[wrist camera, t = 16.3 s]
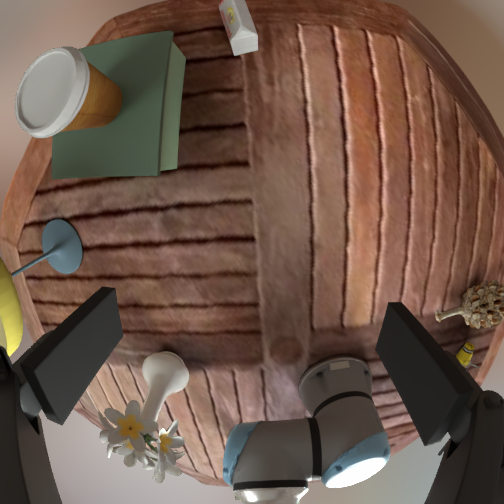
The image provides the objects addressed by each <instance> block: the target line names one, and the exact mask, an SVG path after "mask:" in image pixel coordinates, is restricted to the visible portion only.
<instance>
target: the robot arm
mask: <svg viewBox="0 0 504 504" xmlns="http://www.w3.org/2000/svg"><path fill="white" fill-rule="evenodd" d="M122 337H123V331H122V326H121V321H120V315H119V310H118V304H117V297H116V291H115V288H110V287H101V288H100V289H99V290H98V291H97V292H95V293H94V294H93V295H92V296H91V297H90V298H89V299H87V300H86V301H85V302H84V303H83V304H82V305H81V306H80V307H79V308H77V309H76V310H75V311H74V312H73V313H72V314H71V315H70V316H69V317H68V318H66V319H65V320H64V321H63V322H62V323H61V324H60V325H59V326H58V327H57V328H56V329H55V330H52V331H50V332H48V333H46V334H44V335H43V336H41V337H40V338H39V339H38V340H37V341H36V343H34V344H33V345H32V346H31V348H29V349H28V350H27V351H26V352H25V353H24V354H23V355H22V356H21V357H20V358H19V359H18V360H17V361H16V362H15V363H14V364H13V365H12V363H11V360H10V358H9V356H8V353H7V351H6V349H5V348H4V347H3V346H0V504H62V501H61V498H60V495H59V493H58V489H57V486H56V483H55V480H54V477H53V473H52V469H51V465H50V462H49V457H48V453H47V449H46V444H45V439H44V434H43V429H42V423H41V419H40V417H39V415H38V413H39V412H40V410H41V409H42V410H43V412H44V413H45V415H46V417H47V419H49V420H51V421H53V422H55V423H58V424H60V425H63V424H64V422H65V420H66V419H67V417H68V416H69V414H70V412H71V411H72V410H73V408H74V406H75V405H76V403H77V402H78V400H79V399H80V397H81V396H82V394H83V393H84V391H85V390H86V388H87V387H88V385H89V384H90V382H91V381H92V380H93V378H94V377H95V375H96V374H97V372H98V371H99V369H100V368H101V366H102V365H103V364H104V362H105V361H106V359H107V358H108V356H109V355H110V354H111V352H112V351H113V349H114V348H115V347H116V345H117V344H118V343H119V341H120V340H121V338H122ZM375 350H376V351H377V353H378V355H379V357H380V359H381V361H382V362H383V364H384V366H385V368H386V370H387V372H388V374H389V375H390V377H391V379H392V381H393V383H394V385H395V387H396V389H397V391H398V393H399V395H400V397H401V399H402V400H403V402H404V404H405V406H406V408H407V410H408V412H409V414H410V417H411V419H412V421H413V423H414V425H415V427H416V429H417V431H418V433H419V435H420V437H421V439H422V442H423V443H424V446H428V445H431V444H434V443H437V442H440V441H441V440H442V438H443V437H444V436H445V434H446V433H447V432H448V433H449V435H450V436H451V438H450V439H449V441H448V442H447V443H446V444H445V446H444V447H443V448H442V449H441V451H440V452H439V454H438V455H441V454H442V452H443V451H444V454H443V457H442V460H441V463H440V466H439V469H438V472H437V474H436V477H435V479H434V482H433V485H432V487H431V489H430V492H429V494H428V497H427V499H426V501H425V503H424V504H504V399H503V398H502V396H500V395H499V394H498V393H496V392H494V391H490V390H487V391H483V390H482V389H481V388H480V386H479V385H478V384H477V383H476V381H475V380H474V379H473V377H472V376H471V375H470V374H469V372H468V371H467V372H466V369H465V368H464V366H463V365H461V363H460V361H459V360H458V359H457V358H456V357H455V356H454V355H452V354H451V353H449V352H448V351H444V350H443V349H442V348H441V347H440V346H439V344H438V343H437V342H436V341H435V340H434V338H433V337H432V336H431V335H430V334H429V333H428V331H427V330H426V329H425V328H424V327H423V326H422V325H421V323H420V322H419V321H418V320H417V319H416V318H415V317H414V316H413V314H412V313H411V312H410V311H409V310H408V309H407V308H406V307H405V306H404V304H403V303H402V302H388V306H387V310H386V314H385V317H384V321H383V325H382V328H381V332H380V335H379V339H378V342H377V345H376V348H375ZM299 394H300V398H301V400H302V402H303V404H304V405H305V407H306V408H307V410H308V411H309V412H310V414H311V415H312V417H313V418H304V419H294V420H282V421H257V422H249V423H240V424H237V425H236V426H235V427H234V428H233V429H232V430H231V432H230V434H229V437H228V440H227V443H226V447H225V452H224V459H223V466H224V468H223V478H224V481H225V482H226V483H227V484H230V485H233V494H235V495H236V496H237V497H238V498H239V499H240V500H241V501H242V503H243V504H299V500H300V498H301V497H302V496H303V495H304V494H305V493H306V492H307V491H308V481H310V480H318V479H321V481H322V483H323V484H324V485H325V486H327V487H329V488H332V487H334V488H340V487H345V486H349V485H352V484H355V483H358V482H360V481H362V480H364V479H366V478H368V477H370V476H372V475H373V474H375V473H376V472H377V471H379V470H380V469H381V468H382V467H383V466H384V465H385V464H386V463H387V461H388V459H389V457H390V453H391V451H390V446H389V443H388V435H387V433H386V432H385V430H384V427H383V425H382V422H381V420H380V417H379V415H378V412H377V410H376V407H375V405H374V402H373V400H372V374H371V371H370V369H369V366H368V364H367V363H366V362H365V361H364V360H363V359H361V358H360V357H357V356H354V355H346V354H343V355H335V356H331V357H327V358H325V359H322V360H320V361H318V362H317V363H315V364H313V365H312V366H311V367H309V368H308V369H307V370H306V371H305V373H304V374H303V375H302V377H301V379H300V382H299Z"/></svg>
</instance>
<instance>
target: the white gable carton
mask: <svg viewBox="0 0 504 504" xmlns="http://www.w3.org/2000/svg"><path fill="white" fill-rule="evenodd" d="M219 9H220V13H221V16H222V20H223V23H224V26H225V29H226V32H227V35H228V38H229V41H230V44H231V48H232V51H233V54H234V56H236V55H240V54H244V53H248V52H253V51H257V50H258V35H257V32H256V29H255V26H254V24H253V21H252V18H251V15H250V13H249V10H248V8H247V5H246V2H245V0H222V1H221V3H220V4H219Z"/></svg>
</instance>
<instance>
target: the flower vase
mask: <svg viewBox="0 0 504 504" xmlns="http://www.w3.org/2000/svg"><path fill="white" fill-rule="evenodd" d="M142 373H143V377H144V379H145V381H146V383H147V384H148V392H147V396H146V399H145V402H144V404H143V407H142V410H141V412H140V406H139V403H138V402H137V401H135V400H132V401H130V402H129V404H128V405H127V407H126V411H125V416H124V415H123V414H122V413H120V412H119V411H117V410H115V409H112V408H107V409H105V411H104V413H105V416H106V417H107V419H108V420H109V421H110V422H112V423H113V424H114V425H116V426H118V427H117V428H114V427H113V426H112V425H111V424H110V423H109V422H108V421H107V419H106V418H105V417H103V415H102V414H101V413H100V412H98V414H99V418H100V421H101V423H102V425H103V426H104V427H105V428H106V429H108V430H102V431H101V432H100V440H101V442H103V443H107V442H109V444H108V446H107V454H108V458H109V457H110V455H111V451H112V452H114V453H118V454H120V455H125V457H124V463H125V465H126V466H128V467H133V466H134V465H135V464H136V463H137V460H139V461H140V462H142V463H143V468H144V469H146V470H153V469H154V476H153V478H154V477H155V480H156V482H157V483H162V482H163V480H164V478H165V471H166V472H167V473H169V474H172V475H175V476H179V475H181V474H182V471H181V469H180V468H179V467H177V466H176V465H175V464H176V460H177V459H179V458H181V457H182V456H184V454H182V453H183V452H185V451H183V452H178V451H176V450H172V449H171V448H180V447H181V446H183V444H184V441H185V440H184V438H182V437H180V436H171V435H174V434H175V432H176V430H177V427H178V420H175V421H174V422H173V423H172V424H171V425H170V426H169V428H168V429H167V430H166V431H165V429H160V431H159V437H158V439H156V436H155V431H156V430H157V429H158V427H159V426H158V424H157V423H156V421H157V418H158V415H159V413H160V410H161V408H162V406H163V403H164V401H165V400H166V398H167V397H168V396H169V395H170V394H174V393H178V392H179V391H181V390H183V389H184V388H185V386H186V385H187V384H188V381H189V371H188V369H187V367H186V365H185V364H184V362H183V360H182V359H181V358H180V357H179V356H178V355H176V354H175V353H172V352H168V351H162V352H160V353H154V354H152V355H149V356H148V357H147V358H146V359H145V361H144V362H143V367H142ZM127 438H128V439H127ZM154 441H155V442H157V445H158V447H155V448H154V447H153V446H152V445H151V444H150V443H152V442H154ZM145 443H147V444H148V445H149V446H150V447H151V448H152V449H153V450H152V452H151V451H150V450H149V449H147V448H146V444H145ZM114 444H121V445H122V444H123V445H122V446H117V447H113V446H114ZM169 447H170V448H169ZM147 455H148V456H150V458H152V460H151V459H150V458H149V457H148V456H147Z"/></svg>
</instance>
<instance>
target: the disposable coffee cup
mask: <svg viewBox="0 0 504 504" xmlns="http://www.w3.org/2000/svg"><path fill="white" fill-rule="evenodd" d="M121 106H122V92H121V89H120V88H119V86H118V85H117V84H116V83H114V82H113V81H112V80H110V79H109V78H108V77H107V76H105V75H104V74H103V73H102V72H100V71H99V70H98V69H97V68H95V67H94V66H93V65H91V64H90V63H89V62H88V61H86V58H85V57H84V55H83V53H82V52H80V51H79V50H78V49H76V48H73V47H61V48H53V49H50V50H48V51H46V52H44V53H43V54H41V55H40V56H39V57H37V58H36V60H34V62H33V63H32V64H31V65H30V66H29V68H28V69H27V70H26V72H25V73H24V75H23V77H22V79H21V82H20V84H19V87H18V90H17V94H16V99H15V114H16V118H17V121H18V124H19V125H20V127H21V128H22V129H23V130H25V131H26V132H27V133H29V134H30V135H31V136H33V137H35V138H47V137H50V136H53V135H55V134H56V133H58V132H64V131H71V130H78V129H79V130H80V129H87V128H97V127H103V126H105V125H107V124H109V123H110V122H112V121H113V120H114V119H115V117H116V116H117V114H118V113H119V111H120V108H121Z"/></svg>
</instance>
